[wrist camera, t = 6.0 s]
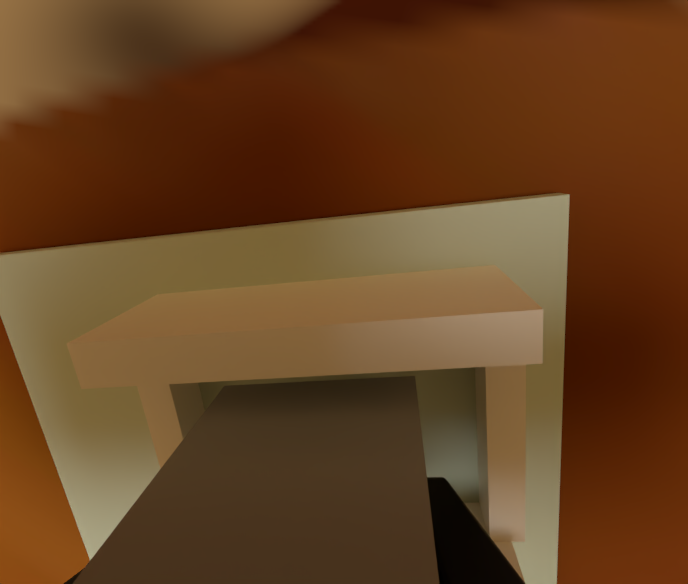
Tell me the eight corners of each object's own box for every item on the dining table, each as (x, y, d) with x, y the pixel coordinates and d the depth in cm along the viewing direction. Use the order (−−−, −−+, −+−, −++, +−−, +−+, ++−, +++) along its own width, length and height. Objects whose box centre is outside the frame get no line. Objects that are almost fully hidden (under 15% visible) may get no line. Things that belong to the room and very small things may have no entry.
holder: (509, 263, 9) (564, 307, 6) (510, 529, 11) (553, 656, 8) (146, 295, 10) (51, 344, 7) (207, 530, 12) (151, 641, 9)
